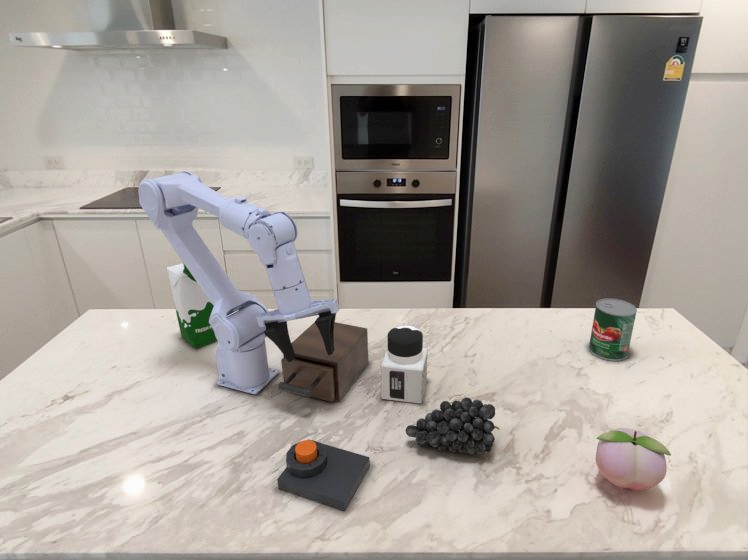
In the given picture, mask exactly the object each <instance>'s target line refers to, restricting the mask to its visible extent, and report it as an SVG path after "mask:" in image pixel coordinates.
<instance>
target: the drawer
mask: <svg viewBox="0 0 748 560" xmlns="http://www.w3.org/2000/svg"><path fill="white" fill-rule="evenodd" d="M280 363H281V370H282V381H280V382H279V384H278V385H277V389H278V390H279V391H283V392H287V393H291V394H295V395H299V396H302V397H306V398H309V397H311V398H315V399H318V400H322V401H326V402H330V403H333V402H335V400H334V399H335V392H336V391H335V375H334V365H330V364H325V363H321V362H317V361H312V360H308V359H303V358H299V357H294V359H293V360H292V361H291V362H288V361H287V359H286V358H285V357H284V356H283V358H281V360H280Z"/></svg>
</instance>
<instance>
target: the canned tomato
mask: <svg viewBox="0 0 748 560" xmlns="http://www.w3.org/2000/svg"><path fill="white" fill-rule="evenodd" d="M637 312H638V308H637V307H636V306H635V305H634V304H632V303H630V302H628V301H627V300H622V299H618V298H608V297H607V298H601V299H598V300H597V301H596V302H595V309H594V315H593V320H592V327H591V332H590V338H589V345H588V350H589V352H590V353H591V354H592V355H594V356H595V357H597V358H598V359H599V358H600V359H602V360H605V361H610V362H622V361H624V360H626V359H627V358H628V356H629V350H630V345H631V341H632V336H633V331H634V326H635V322H636V315H637Z"/></svg>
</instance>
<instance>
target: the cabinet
mask: <svg viewBox="0 0 748 560" xmlns="http://www.w3.org/2000/svg"><path fill="white" fill-rule="evenodd" d="M368 333H369V332H368V328H367V327H364V326H363V327H362V326H357V325H352V324H347V323H341V322H336V321H335V323H334V349H335V350H334V352H333V354H332V355H328V354H327V351H326V348H325V345H324V341H323V338H322V336H321V333H320V331H319V329H318V327H317V326H316V324H315V321H314V322H313V323H312V324H311V325H309V326H308V327H307V328H306V329H305V330H304V331H303V332H302V333H300V335H299V336H297V337H296V338H295V339H294V340H293V341H291V344H292V346H293V349H294V353H295V357H299V358H303V359H308V360H312V361H317V362H321V363H325V364H330V365H334V375H335V391H336V392H335V399H334V401H336V402H341V401H342V399H343V398H344V396H345V395H346V394H347V393H348V391H349V390H350V388H351V387H352V386H353V385H354V383H355V382H356V381H357V379H358V378H359V377H360V375H362V373H363V372H364V370H365V369H366V368H367V366H368V365H369V339H368V338H369V335H368ZM282 355H283V354H282ZM284 357H285V356H284V355H283V358H284Z"/></svg>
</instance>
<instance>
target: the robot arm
mask: <svg viewBox="0 0 748 560" xmlns="http://www.w3.org/2000/svg"><path fill="white" fill-rule="evenodd" d="M137 192H138V201H139V205H140V207H141V208H142V209H143V211H144V213H145V214H146V216H147V217H148V218H149V220H150V221H151V223H152V224H153V225H154V226H155V228H156V229H158V230H160V231H161V233H162V234H163V236H164V237H165V239H166V240H167V241H168V243H169V244H170V246H171V248H173V250H174V251H175V253H176V254H177V256H178V257H179V258H180V260H181V261H182V263H184V264H185V266H186V267H187V268H188V270H189V271H190V273H191V274H192V276H193V277H194V278H195V280H196V281H197V283H198V284H199V286H200V287H201V288H202V290H203V291H204V293H205V294H206V295H207V297H208V298H209V300H210V301H211V303H212V304H213V305H214V307H213V310H212V313H211V315H210V319H209V323H210V325H211V326H212V328H213V330H214V333H215V336H216V339H217V343H218V344H217V346H216V347H215V348H216V349H215V361H216V367H217V373H218V380H217V381H216V385H218V386H222V387H225V388H228V389H232V390H236V391H240V392H244V393H248V394H251V395H257V394H258V393H260V392H261V391H262V390H263V389H264V388H265V387H266V386H267V385H268V384H269V383H270V382H272V380H273V379H274V378H275V377H276V376H277V375H278V374H279V370H276V369H272V368H269V360H268V352H267V345H266V338H268V339H269V340H270V341H271V342H272V343H273V344H274V345H275V346H276V347H277V348H278V349H279V350H280V352H281V354H282V355H284V356H285V358H286V359H287V361H288V362H291V361H292V360H293V359H294V357H295V353H294V349H293V346H292V344H291V343H292V341H291V337H290V333H289V327H288V322H289V321H296V320H300V319H306V318H311V317H316V316H318V317H317V318H316V319H315V321H314V322H315V324H316V326H317V327H318V329H319V331H320V333H321V336H322V338H323V341H324V345H325V348H326V351H327V354H328V355H332V354H333V352H334V350H335V349H334V323H335V322H336V317H337V313H339V311H340V309H341V308H340V305H339V301H338V298H332V299H322V300H312V298H311V295H310V292H309V291H310V290H309V288H308V285H307V281H306V279H305V275H304V271H303V268H302V265H301V262H300V259H299V256H298V252H297V249H296V246H295V241H296V240H297V237H298V227H297V224H296V221H295V220H294V219H293V218H292V216H290V214H288V213H286V211H284V210H279V211H276V212H273V211H271V212H270V211H268V210H267V209H266V208H264V207H259V206H257V205H256V204H253V203H251V202H249V201H247V198H246V197H244V196H242V195H240V196H234V197H231V198H227V197H225V196H224V195H222V194H221V193H219V192H218V191H216V190H214V189H213V188H212V187H209V186H208V185H206V184H204V183H203V182H202V179H201V177H200V176H199V174H198V175H197V174H194V173H193V172H192V171H188V170H184V171H180V172H179V173H173V174H169V175H163V176H159V177H153V178H144V179H142V180H141V181H140V183H139V185H138V191H137ZM199 209H200V210H202V211H204V212H207V213H209V214H212V215H213V216H215V217H219V222H220V224H221V226H222V227H224V228H226V229H227V230H228V231H230V232H233V233H235V234H236V235H238V236H240V237H242V238H243V239H246V240H247V242H248V244H249V246H250V248H251V249H252V250H253V251H254V252H255V253H256V255H257V257H258V260H259V262H260V263H261V265H262V266H264V268H265V271H266V274H267V278H268V281H269V283H270V286H271V290H272V293H273V295H274V299H275V302H276V305H277V309H274V310H270V311H269V309H268V308H267V307H266V306H265V305H264V304H262V303H261V302H260V301H259V300H258V299H257V298H256V296H255V295H254V294H252V293H249V292H245V291H241V290H239V289H238V287H236V285H235V284H234V283H233V281H232V280H231V279H230V277H229V276H228V274H227V273H226V271H225V270H224V269H223V267H222V265H221V264H220V262H219V261H218V260H217V258H216V257H215V255H214V254H213V253H212V251H211V250H210V249H209V247H208V246H207V244H206V243H205V242H204V239H202V237H201V236H200V235H199V233H198V232H197V229H196V228H195V227H194V225H193V224H194V223H193V222H194V220H196V219H197V217H198V213H199ZM284 356H283V357H284Z"/></svg>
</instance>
